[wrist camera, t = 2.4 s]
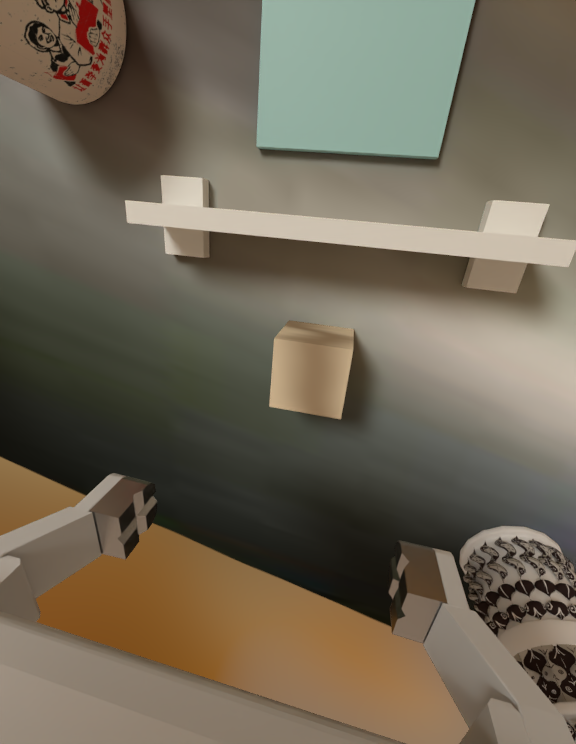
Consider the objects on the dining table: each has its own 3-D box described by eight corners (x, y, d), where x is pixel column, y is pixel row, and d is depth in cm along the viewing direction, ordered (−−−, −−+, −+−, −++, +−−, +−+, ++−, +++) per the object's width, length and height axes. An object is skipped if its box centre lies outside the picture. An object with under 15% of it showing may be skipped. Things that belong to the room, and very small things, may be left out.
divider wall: (172, 253, 24) (130, 256, 20) (168, 177, 22) (120, 162, 18) (509, 291, 21) (551, 305, 16) (540, 206, 19) (598, 195, 14)
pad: (259, 148, 21) (256, 146, 20) (270, -110, 16) (267, -122, 16) (436, 159, 19) (438, 157, 18) (502, -124, 15) (507, -137, 14)
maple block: (284, 378, 27) (269, 406, 22) (289, 320, 25) (274, 338, 20) (343, 387, 26) (340, 419, 21) (353, 329, 24) (353, 349, 19)
